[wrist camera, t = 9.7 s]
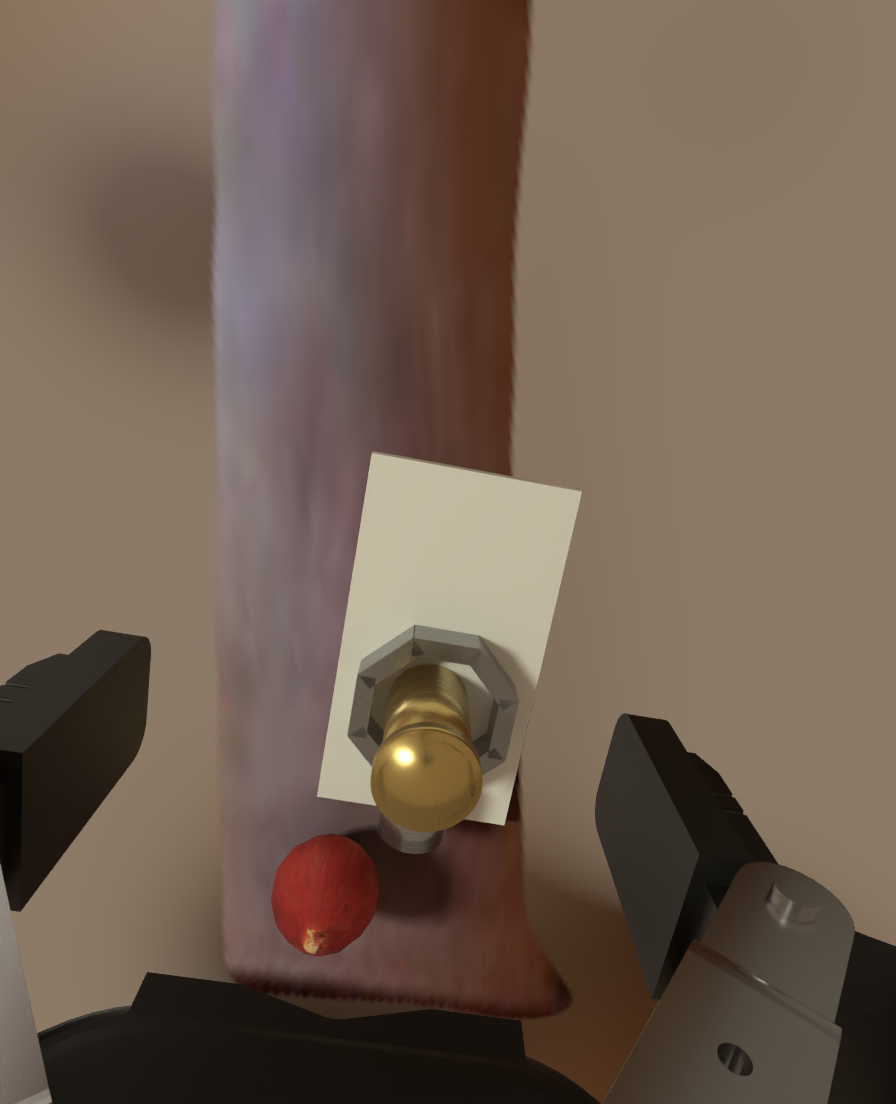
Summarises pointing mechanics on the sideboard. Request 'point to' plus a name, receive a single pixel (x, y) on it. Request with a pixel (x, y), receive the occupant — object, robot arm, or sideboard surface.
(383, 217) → the sideboard surface
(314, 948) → the onion
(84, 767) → the robot arm
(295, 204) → the sideboard surface
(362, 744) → the grey octagonal ring
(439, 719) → the knob
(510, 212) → the sideboard surface
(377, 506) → the board
